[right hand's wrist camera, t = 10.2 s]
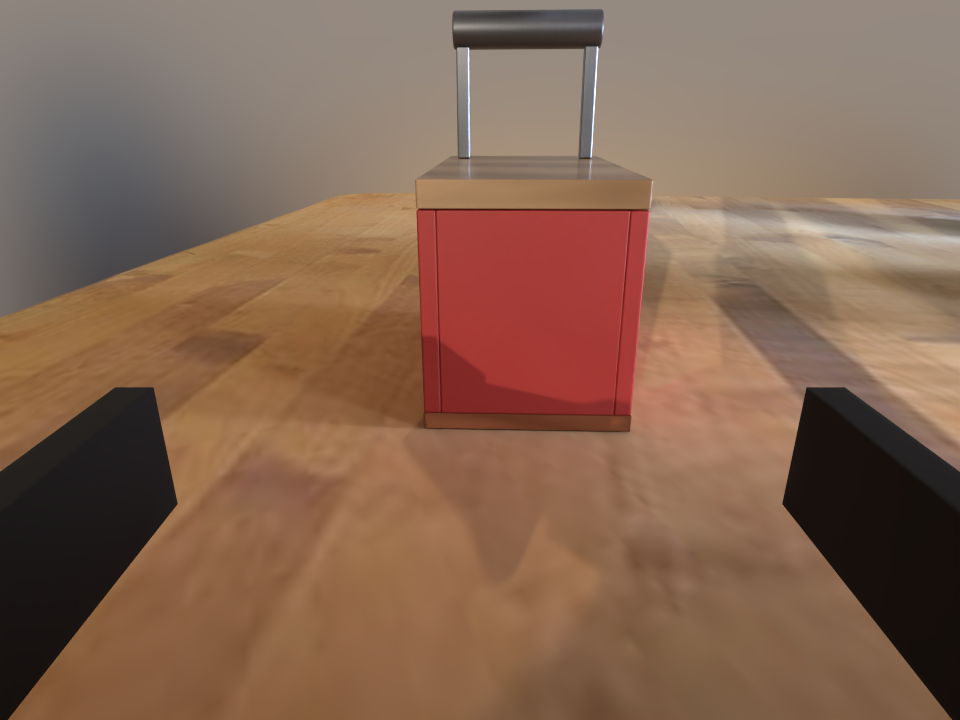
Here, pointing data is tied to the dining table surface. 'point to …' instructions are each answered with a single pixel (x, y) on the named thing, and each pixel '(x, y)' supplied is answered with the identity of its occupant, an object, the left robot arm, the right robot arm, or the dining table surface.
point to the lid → (530, 176)
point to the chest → (530, 316)
